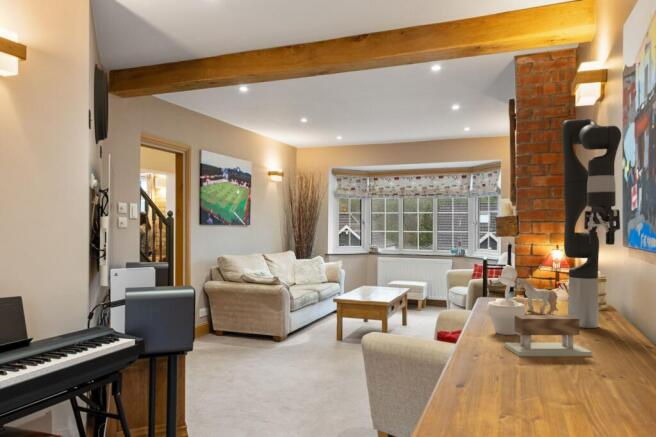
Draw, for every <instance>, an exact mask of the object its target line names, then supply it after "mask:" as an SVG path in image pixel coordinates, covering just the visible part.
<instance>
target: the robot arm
mask: <svg viewBox="0 0 656 437" xmlns="http://www.w3.org/2000/svg"><path fill="white" fill-rule="evenodd" d="M560 133H561V142H562V143H561V144H562V146H561V147H562V155H563V156H562V157H563V198H564V199H563V201H564V232H563V234H564V236H563V238H564V239H563V249H564V254H565V256H566V258H570V259H586V261H585V262H584V263H583V264H580V265H578V266H574V267H571V268H569V270H568V297H567V298H568V299H567V300H568V301H567V302H568V304H567V306H568V307H567V308H568V312H567V315H570V316H573V317H576V318H578V319H580V328H583V329H585V328H586V329H596V328H599V259H600V258H599V256H600V255H599V254H600V240H599V239H600V238H599V236H598V229H599V227H601V226H602V227H603V228H604V231H605V244H606V245H609V246H611V245H612V246H613V245H615V239H616V238H615V235H616V234H615V233H616V232H617V231H619V230H621V217H620V209H613V208H612V207H615V206H616V205H617V204H616V201H617V200H616V197H617V196H616V191H617V190H616V177H615V162H616V156H617V153H618V149H619V146H620V142H621V139H622V131H621V129H620V128H619V127H618V126H617V125H604V126H603V125H599V124H597V122H596V121H595V120H593V119H590V118H579V119H565V120H564V121H563V122H562V124H561V132H560ZM574 145H575V146H576V145H582V147H583V148H584V149H585V150H589V151H591V150H592V151H594V150H605V151H606V152H605V153H604V154H603V155H600V156H594V157H591V158H590V159H589V160H588V163H587V168H586V167H585V165H584V164H583V163H582V162H581V161H580V159H579V158H578V156H577V153H576V152H575V148H574ZM587 207H588V208H591V209H590V210H585V209H586V208H587ZM583 212H584V227H583V228H584V230H587V232H585V231H584V232H575V230H576V225H577V223H578V221H579V218H580V217H581V215H582V214H583Z"/></svg>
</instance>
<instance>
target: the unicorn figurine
mask: <svg viewBox="0 0 656 437" xmlns="http://www.w3.org/2000/svg"><path fill="white" fill-rule="evenodd" d="M514 283H515V284H516V290H517V291H518V292H519V291H521V289H522V287H523V288H524V289H525V292H524V293H525V296H526V298H527V300H526V302H527V305H528V309H527V310H526V311H527V312H534V305H533V303H532V300H537V301H538V300H540V301H542V303H543V305H542V306H540V309H539V312H540V314H541V315H543V313H544V311H545V310H546V307H547V306H548V304H549V310H548V311H547V312H546V314H548V315H551V314H553V313H554V311H556V312H559V309H558V307H557V305H558V302H557V301H558V293H556V292H555V291H554V290H553V289H552V290H551V289H550V290H549V289H545V288H544V289H543V288H541V289H539V288H536V287H535V286H534V284H533V283H532V282H530V281H529V280H527V279H526V278H518V279H517V278H516V279H515V281H514ZM550 313H551V314H550Z"/></svg>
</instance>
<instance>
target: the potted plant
mask: <svg viewBox="0 0 656 437" xmlns="http://www.w3.org/2000/svg"><path fill="white" fill-rule="evenodd" d="M495 263H496V265H498V262H495ZM493 275H495V272H493ZM517 277H518V272H517V269H515V268H514V267H513V266H512V265H510V264H505V266H504V267H503V269H502V270H501V275H498V278H497V280H498V281H499V282H500V283H501V284H502V285H505V286H506V287H505V290H504V298H496V299H495V300H493V301H488V302H487V304H486V305H487V307H486V311H487V312H486V313H487V316H489V317H490V320H491V323H492V325H493V329H494V332H495V333H497V334H499V335H503V336H514V335H516V334H518V333H517V332H516V331H515V315H526V311H525V310H526V304H524V303H522V302H517V301H516V300H515V299H512V298H510V290H511V288H513V287H515V286H517V284H516V283H515V282H514V281H516V279H517Z"/></svg>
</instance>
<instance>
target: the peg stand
mask: <svg viewBox="0 0 656 437" xmlns="http://www.w3.org/2000/svg"><path fill="white" fill-rule="evenodd" d="M519 335H520V336H519V338H520V340H519V341H520V342H504V343H503V344H504V345H503V346H504V348H506V349H507V350H508V351H510V352H511V353H513V354H515V355H516V356H518V357H593V354H592V353H593V352H592V350H589V349H587V348H584V347H582V346H580V345H578V344H576V343H574V335H561V342H531V341H532V339H531V337H532V335H521V334H519Z"/></svg>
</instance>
